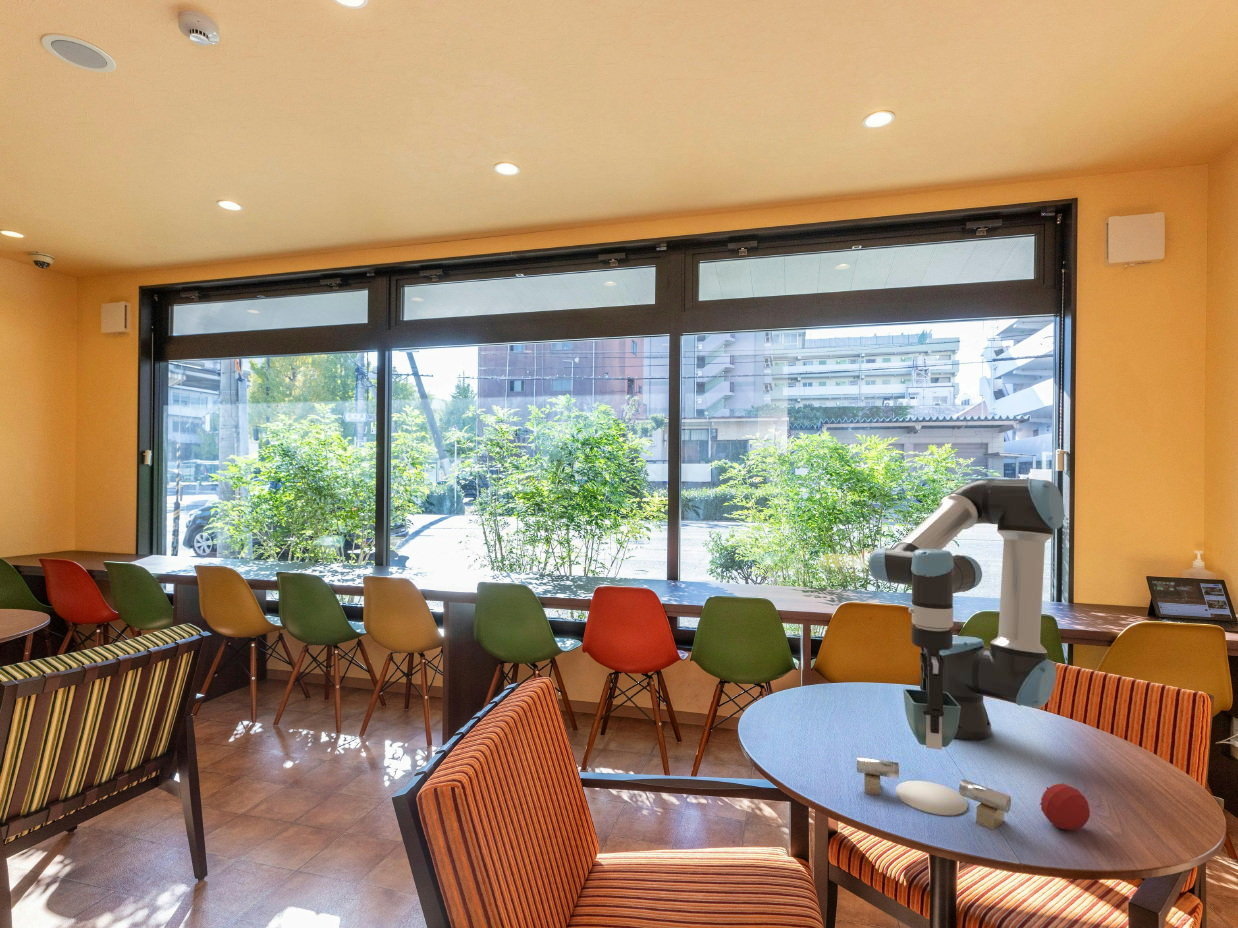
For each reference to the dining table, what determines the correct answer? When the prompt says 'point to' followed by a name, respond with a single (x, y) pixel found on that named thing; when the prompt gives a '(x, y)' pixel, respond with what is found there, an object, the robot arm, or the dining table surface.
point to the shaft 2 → (986, 803)
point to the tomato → (1065, 807)
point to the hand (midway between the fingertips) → (930, 738)
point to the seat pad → (931, 798)
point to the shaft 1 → (876, 772)
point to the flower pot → (917, 719)
